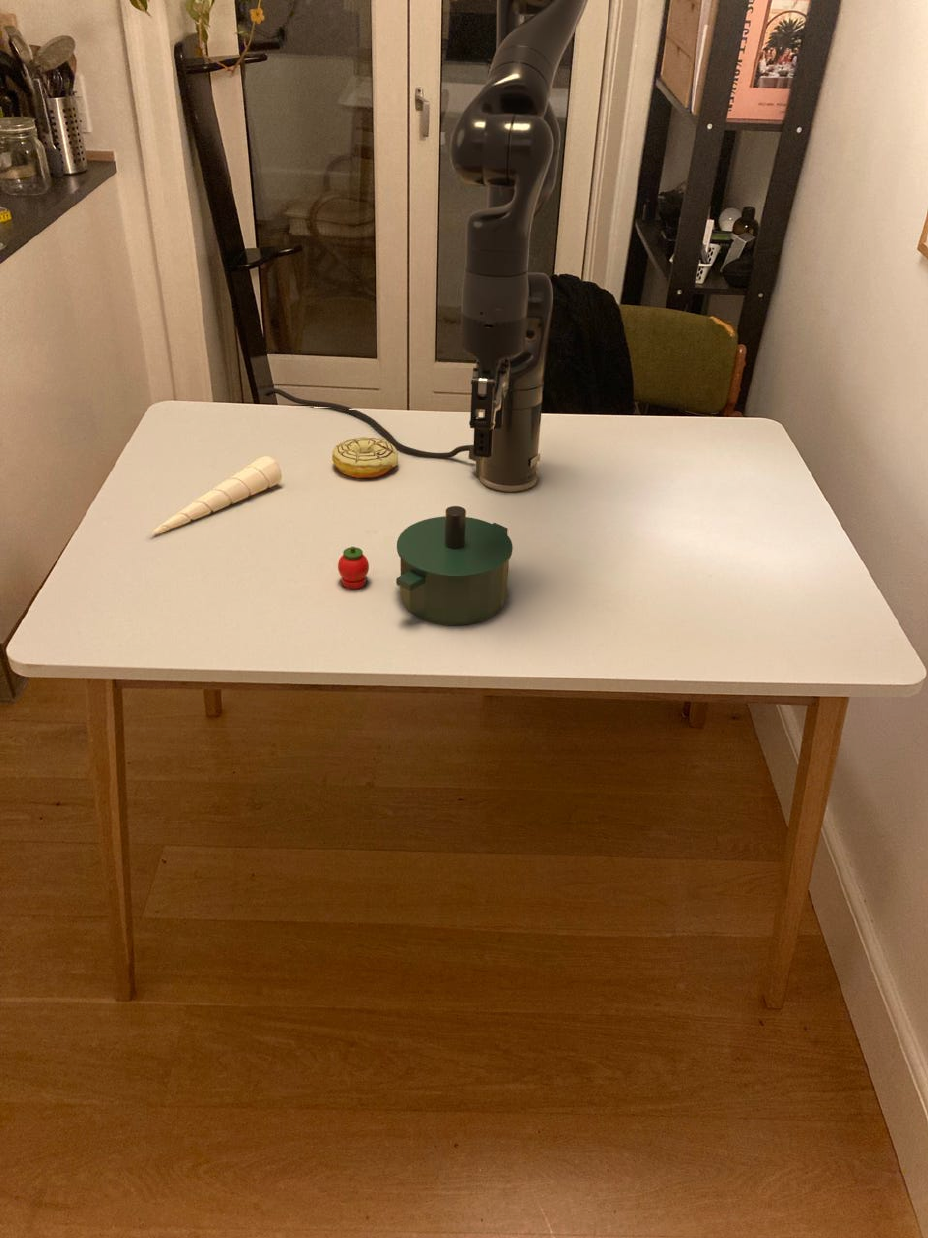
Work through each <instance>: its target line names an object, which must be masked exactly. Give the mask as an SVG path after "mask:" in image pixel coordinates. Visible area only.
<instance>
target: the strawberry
mask: <svg viewBox="0 0 928 1238" xmlns="http://www.w3.org/2000/svg"><path fill="white" fill-rule="evenodd" d="M369 570H370V563H369V560H368V558H367V557H366V555H365V554H364V553H363V550H362V549H361V548H360V547H356V546H351V547H350V546H349V547H347V548H345V549H344V550H343V551H342V555H341V557H340V558H339V560H338V562H337V571H338V574H339V575H340V576H341V579H342V580H341V581H342V585H343V587H345V588H346V589H351V590H356V589H361V588H363V587H365V585H366V584H367V575H368V573H369Z"/></svg>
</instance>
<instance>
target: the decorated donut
mask: <svg viewBox="0 0 928 1238" xmlns="http://www.w3.org/2000/svg"><path fill="white" fill-rule="evenodd" d="M331 457H332V459H331V461H332V463H333V464H334V465H335V467H336V468H337V469H338V470H339V472H341V473H342V474H344V475H347V476H349V477H352V478H356V479H360V478H361V479H362V478H363V479H364V478H368V479H369V478H370V479H371V478H377V477H380V476H383V475H385V474H387V472H389V471H390V470H392V469H393V468H394V467H396V466H397V465H398V462H399V452H398V450H397V448H396V447H395V446H394V445H392V444H391V442H390V441H389V440H385V439H383V438H375V437H365V436H364V437H357V438H351V439H347V440H343V441H342V442H338V444H336V445H335V447H333V449H332V455H331Z"/></svg>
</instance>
